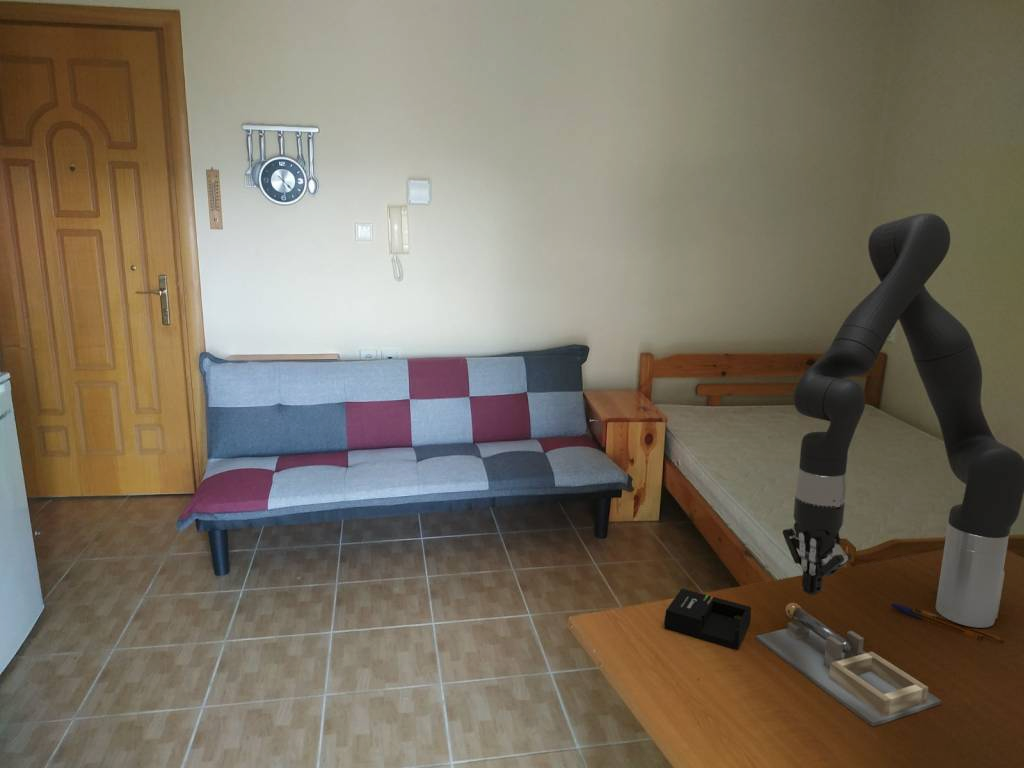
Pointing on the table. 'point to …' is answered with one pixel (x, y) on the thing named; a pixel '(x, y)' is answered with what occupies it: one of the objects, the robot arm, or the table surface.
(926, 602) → the table surface
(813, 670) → the grey mounting base
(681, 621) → the battery charger
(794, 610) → the metal lever
